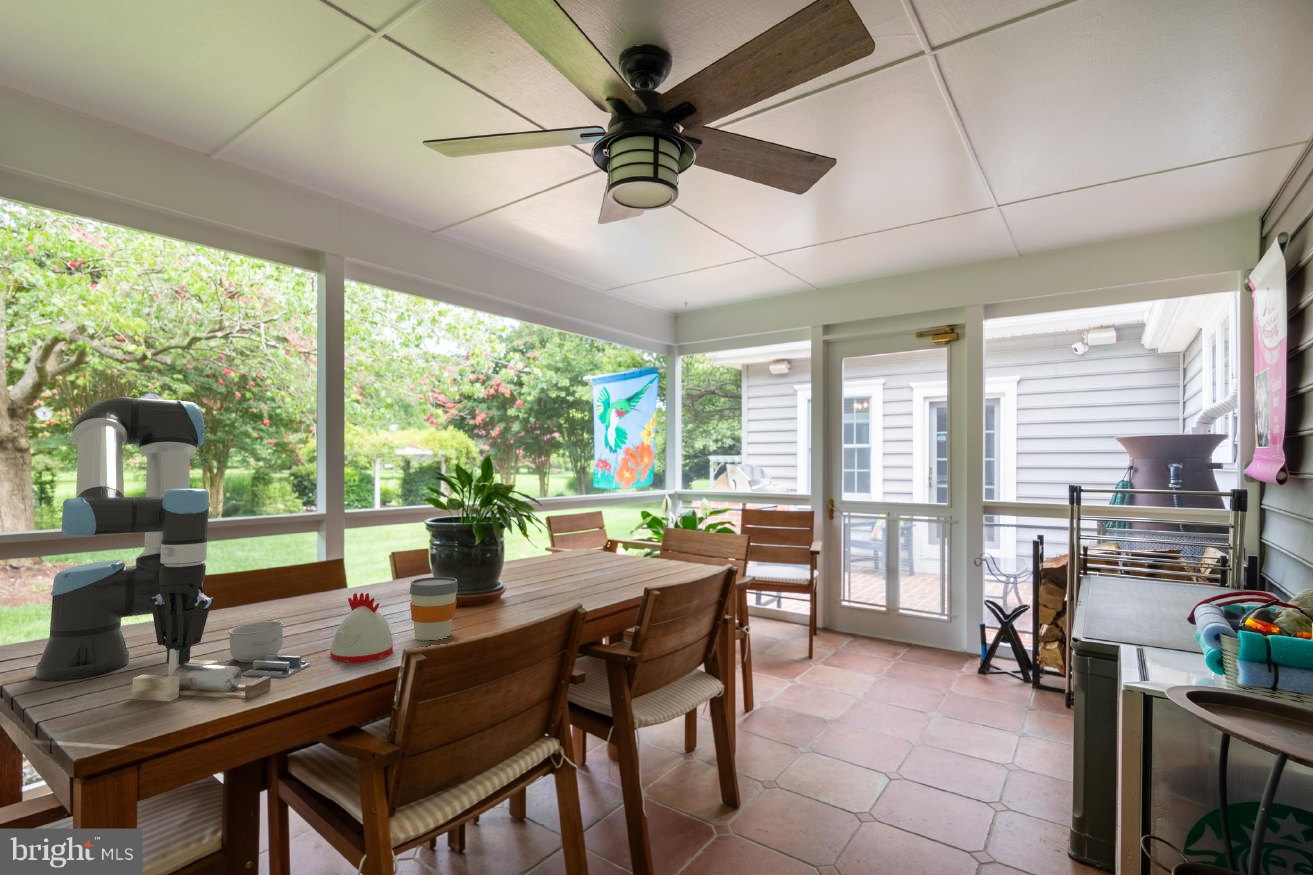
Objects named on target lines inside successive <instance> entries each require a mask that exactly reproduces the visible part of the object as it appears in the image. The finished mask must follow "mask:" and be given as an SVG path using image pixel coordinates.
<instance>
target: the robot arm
mask: <svg viewBox="0 0 1313 875" xmlns="http://www.w3.org/2000/svg"><path fill="white" fill-rule="evenodd" d="M71 436H72V440H73V442H74V444H75V445H76V446H77V458H76V459H77V463H76V466H77V467H76V486H75V487H76V488H75V490H76V491H75V497H73V498H71V497H70V498H67V499H65V500H63V502H62V515H61V529H60V530H61V532H62V534H63V535H66V536H87V537H90V536H99V535H100V536H101V535H103V536H104V535H116V534H117V535H119V534H135V533H137V534H138V533H144V550H143V552H141V553H140V554H139V555H138V556H136V558H135V565H126V563H125V561H124V560H122V559H114V560H103V561H96V562H92V563H91V562H90V563H85V564H80V565H77V566H76V565H75V566H73V567H72V566H71V567H69V568H65V569H63V570H61V571H59V572H57V573H56V575H55V576H54V579H53V583H52V584H53V585H52V591H51V592H50V596H52V597H51V598H52V600H51V612H50V623H49V624H50V626H49V638H48V642H47V643H46V646H45V648H44V650H43V653H42V655H41V658H40V660H39V661H38V663H37V665H36V666H35V667H36V668H35V679H37V680H40V681H41V680H42V681H51V682H52V681H53V682H54V681H66V680H67V681H69V680H76V679H83V678H89V677H94V676H98V675H103V674H106V673H110V672H113V671H116V670H118V669H121V668H123V667H125V666H126V665H128V664H129V662H130V651H129V649H128V648H127V645H126V641H125V638H124V636H123V633H122V628H121V626H122V618H127V617H137V616H145V615H146V616H147V615H152V616H153V624H154V631H155V636H156V641H157V645H158V646H164V647H165V648H166V649H167V650H166V664H167V665H168V672H167V673H168V675H167V676H172V675H173V673H174V671H175V670H176V669H177V668H178V667H179V666H180V665H184V664H187V663H189V661H190V660H191V647H193V646H194V645H197V644H200V643H201V641H202V639H203V635H204V630H205V627H206V624H207V619H208V616H209V613H210V609H211V608H212V606H213V605H214V603H215V598H214V597H208V596H207V595H206V594H204V587H203V586H204V585H203V584H204V581H205V579H206V573H207V568H206V567H207V564H206V562H205V561H207V556H208V555H207V553H208V552H207V550H208V525H209V524H208V523H209V513H210V512H209V510H210V507H211V502H210V492H209V491H208V490H207V489H206V488H193V487H192V488H191V486H190V484H191V483H190V481H191V480H190V478H191V477H190V476H191V475H190V474H191V473H190V472H191V471H190V470H191V468H190V467H191V466H190V462H191V460H190V457H192V456H193V455H194V454H196V453H197V451H198V447H201V446H202V445H203V444H204V442H205V437H206V436H205V422H204V416H203V413H202V410H201V408H200V406H199V405H198V404H196V403H195V402H191V401H182V400H178V399H175V400H172V399H171V400H169V399H155V398H141V397H140V398H139V397H137V398H136V397H130V396H128V397H127V396H121V397H112V398H109V399H105V400H102V401H99V402H97V403H95V404H93V405H92V406H90V407H89V408H87V409H86V410H84V411H83V412H82V413H81V414H80V415H79V416H78V417H77V419H76V420H75V421H74V423H73V426H72V434H71ZM125 444H129V445H138V451H139V453H140V454H142V455H143V456H144V457H146V474H145V475H146V478H145V484H146V485H145V496H126V497H125V486H124V485H125V483H124V481H125V480H124V458H123V456H124V455H123V454H124V453H123V446H124V445H125Z"/></svg>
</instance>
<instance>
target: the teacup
mask: <svg viewBox="0 0 1313 875" xmlns="http://www.w3.org/2000/svg"><path fill="white" fill-rule="evenodd" d="M283 626H284V622H282V621H281V620H280V619H273V620H268V621H267V620H266V621H265V620H264V621H257V622H252V623H245V624H243V625H239V626H236V627H233V628H231V629H230V630H229V631H228V634H229V649H230V650H229V651H230V652H229V653H230V656H231V657H232V658H233V659H234V660H236V661H238V662H240V663H245V664H246V663H253V661H255V660H257V661H266V656H267V655H277V654H278V653H279V651H280V650H281V649H282V647H283V643H284V642H283V640H284V639H283V638H284V633H283V631H284V630H283V628H284V627H283Z"/></svg>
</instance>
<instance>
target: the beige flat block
mask: <svg viewBox="0 0 1313 875" xmlns="http://www.w3.org/2000/svg"><path fill="white" fill-rule="evenodd" d="M219 662H220V661H219V660H207V659H190V661H189V663H187V664H200V665H219V664H220V663H219ZM271 678H272V677H265V676H264V677H260V678H258V679H256V680H253V681H252V682H249V683H247V684H239V685H238V686H237V688H236V689H235V690H238V691H240V690H241V691H244V692H243V693H242V692H230V693H229V692H211V691H193V690H179V679H180V677H179V676H168V675H159V674H141V675H137V676H135V677H132V689H131V700H140V701H141V700H142V701H157V702H171V701H174V700H175V699H178V698H179V695H180V696H194V697H213V698H214V697H215V698H231V699H248V700H250V699H255V698H256V697H259V696H260V695H263V694H264V693H266V692H268V691H270V690H271V683H272V679H271Z"/></svg>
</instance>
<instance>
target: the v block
mask: <svg viewBox="0 0 1313 875" xmlns="http://www.w3.org/2000/svg"><path fill="white" fill-rule="evenodd" d="M310 666H311V663H310V662H307V660H302V656H299V655H298V656H297V655H296V656H295V655H294V656H293V655H279V654H278V655H277V654H275V655H267V656H266V660H264V661H257V660H255V661H253V662H252V668H251V669H248V670H246V671H244V672H242V676H244V677H260V678H262V677H264V676H265V677H271V678H282V679H286V678H288V677H291V676H292V675H294V674H296V673H298V672H300V671H302V670H304V669H306V668H309V667H310Z"/></svg>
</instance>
